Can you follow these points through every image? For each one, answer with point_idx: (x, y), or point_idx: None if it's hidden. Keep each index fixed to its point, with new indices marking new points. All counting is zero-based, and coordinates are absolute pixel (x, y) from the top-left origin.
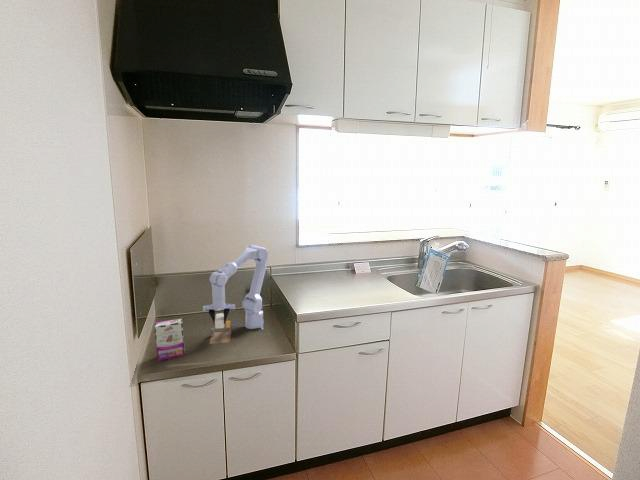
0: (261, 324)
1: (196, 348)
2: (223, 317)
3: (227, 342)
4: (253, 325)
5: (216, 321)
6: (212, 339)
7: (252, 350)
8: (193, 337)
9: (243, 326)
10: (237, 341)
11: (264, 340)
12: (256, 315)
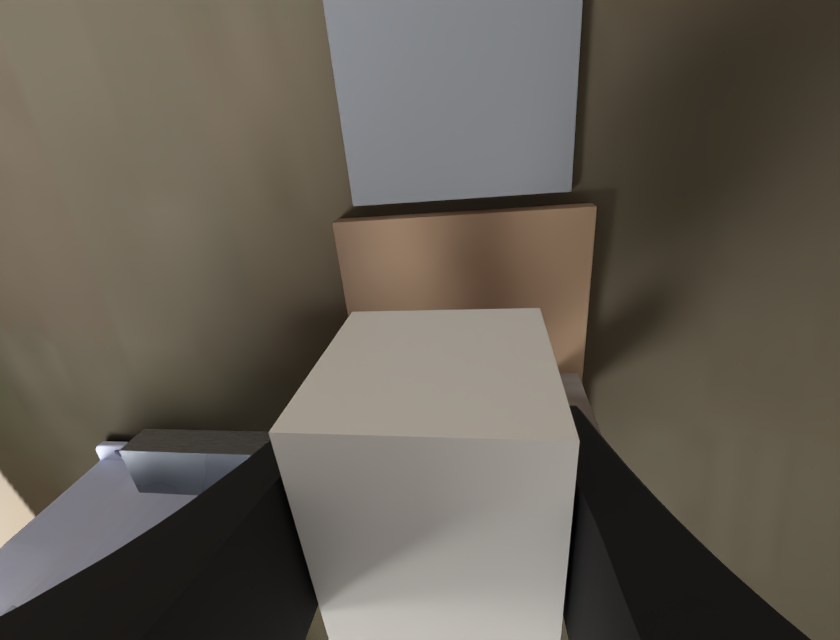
0: (82, 487)
1: (779, 135)
2: (325, 582)
3: (366, 220)
4: None
5: (512, 417)
6: (561, 313)
7: (33, 20)
8: (788, 409)
9: (164, 431)
10: (272, 261)
11: (7, 250)
12: (22, 592)
